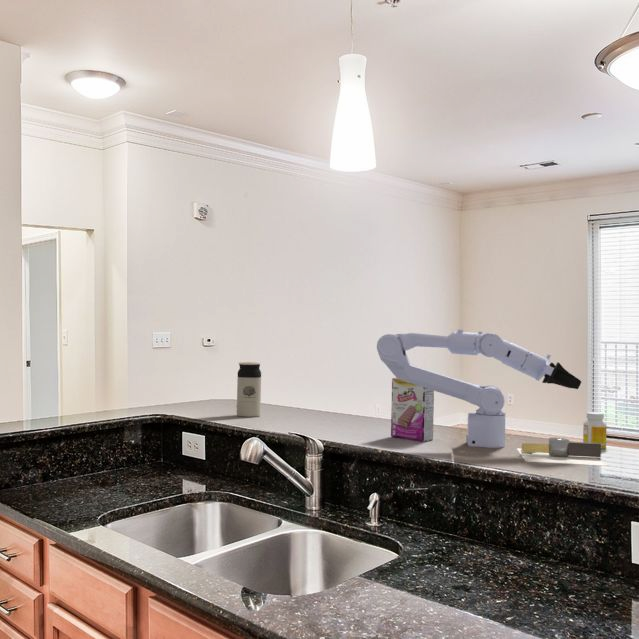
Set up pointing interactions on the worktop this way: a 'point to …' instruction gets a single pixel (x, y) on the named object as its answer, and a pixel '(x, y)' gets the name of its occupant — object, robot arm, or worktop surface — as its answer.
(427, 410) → the candy bar box
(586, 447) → the dial pointer
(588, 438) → the supplement bottle
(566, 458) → the board
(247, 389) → the travel mug
